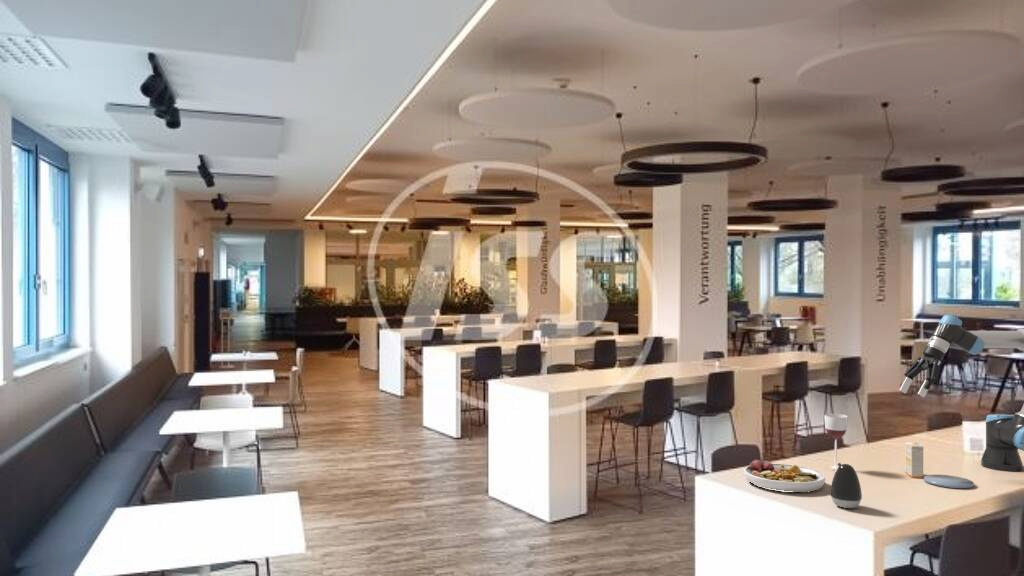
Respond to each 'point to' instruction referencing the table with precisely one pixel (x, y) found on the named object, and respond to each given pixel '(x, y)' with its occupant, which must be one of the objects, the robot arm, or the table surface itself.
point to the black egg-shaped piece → (846, 487)
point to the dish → (948, 481)
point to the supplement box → (914, 460)
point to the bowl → (784, 476)
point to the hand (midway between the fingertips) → (911, 393)
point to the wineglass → (836, 428)
